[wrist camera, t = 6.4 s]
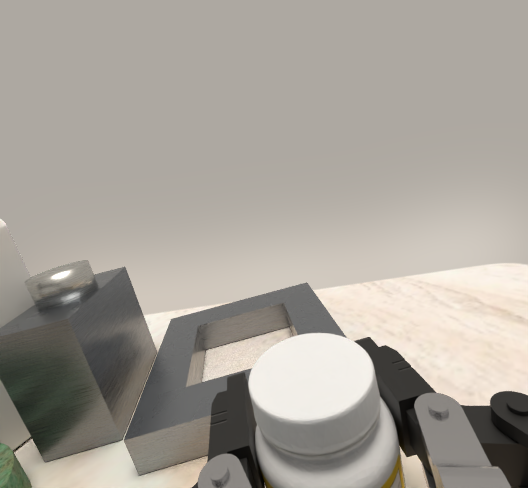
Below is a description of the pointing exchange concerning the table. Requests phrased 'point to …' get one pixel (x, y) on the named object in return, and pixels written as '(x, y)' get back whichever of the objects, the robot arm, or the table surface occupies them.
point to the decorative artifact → (11, 470)
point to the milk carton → (3, 311)
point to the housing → (128, 363)
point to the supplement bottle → (322, 417)
